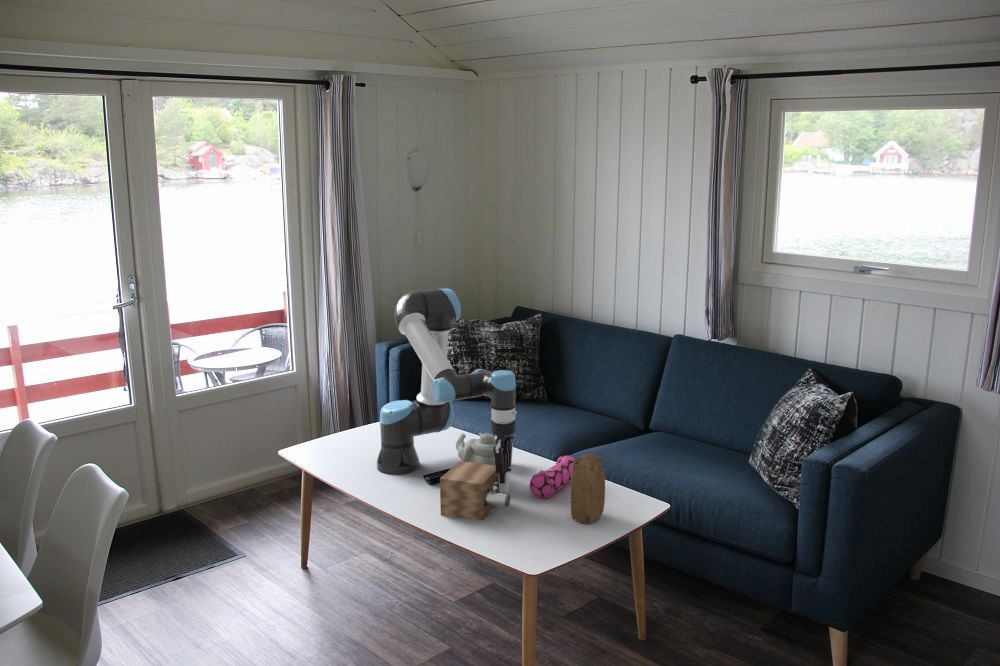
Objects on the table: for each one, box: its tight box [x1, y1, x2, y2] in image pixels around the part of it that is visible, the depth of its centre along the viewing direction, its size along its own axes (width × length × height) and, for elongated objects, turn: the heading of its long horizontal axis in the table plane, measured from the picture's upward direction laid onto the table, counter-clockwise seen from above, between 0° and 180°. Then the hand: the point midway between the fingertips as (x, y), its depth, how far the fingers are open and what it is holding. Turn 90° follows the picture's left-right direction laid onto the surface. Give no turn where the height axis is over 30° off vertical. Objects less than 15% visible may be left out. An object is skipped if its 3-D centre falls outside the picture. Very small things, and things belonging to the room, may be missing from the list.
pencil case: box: [529, 455, 576, 499], centre depth 288 cm, size 21×10×10 cm, turn 152°
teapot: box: [455, 432, 496, 466], centre depth 292 cm, size 16×15×19 cm
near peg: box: [484, 491, 511, 508], centre depth 267 cm, size 14×4×4 cm, turn 71°
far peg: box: [493, 482, 501, 493], centre depth 276 cm, size 14×4×4 cm, turn 71°
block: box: [570, 453, 606, 524], centre depth 264 cm, size 11×8×20 cm
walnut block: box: [439, 460, 499, 522], centre depth 273 cm, size 14×16×12 cm
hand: (503, 491), depth 273 cm, fingers closed
